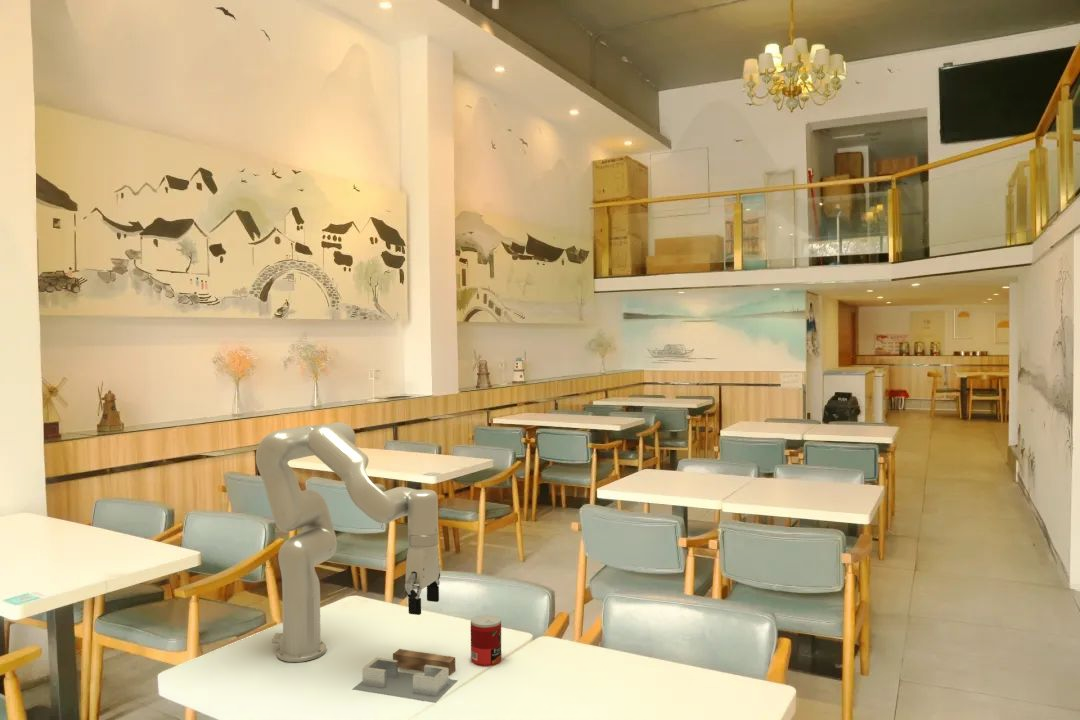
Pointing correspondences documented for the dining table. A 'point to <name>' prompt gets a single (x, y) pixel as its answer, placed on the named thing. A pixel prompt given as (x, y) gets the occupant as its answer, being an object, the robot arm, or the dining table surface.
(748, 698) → the dining table surface
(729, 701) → the dining table surface
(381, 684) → the endcap
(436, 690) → the endcap
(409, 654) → the slat
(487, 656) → the canned food
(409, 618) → the dining table surface
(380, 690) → the mat
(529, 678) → the dining table surface
